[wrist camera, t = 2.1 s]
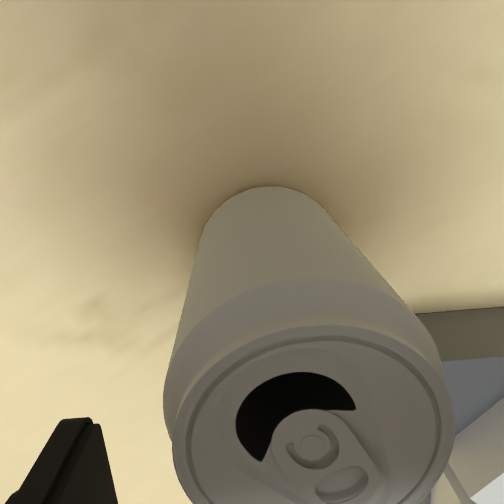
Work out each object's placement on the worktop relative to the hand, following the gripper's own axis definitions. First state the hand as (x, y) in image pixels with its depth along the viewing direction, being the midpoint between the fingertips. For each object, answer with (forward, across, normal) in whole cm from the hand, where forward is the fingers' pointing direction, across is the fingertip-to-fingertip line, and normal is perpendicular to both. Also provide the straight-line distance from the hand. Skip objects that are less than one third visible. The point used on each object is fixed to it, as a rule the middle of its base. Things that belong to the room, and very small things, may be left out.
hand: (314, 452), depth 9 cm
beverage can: (+11, 0, -1) cm, 11 cm away
